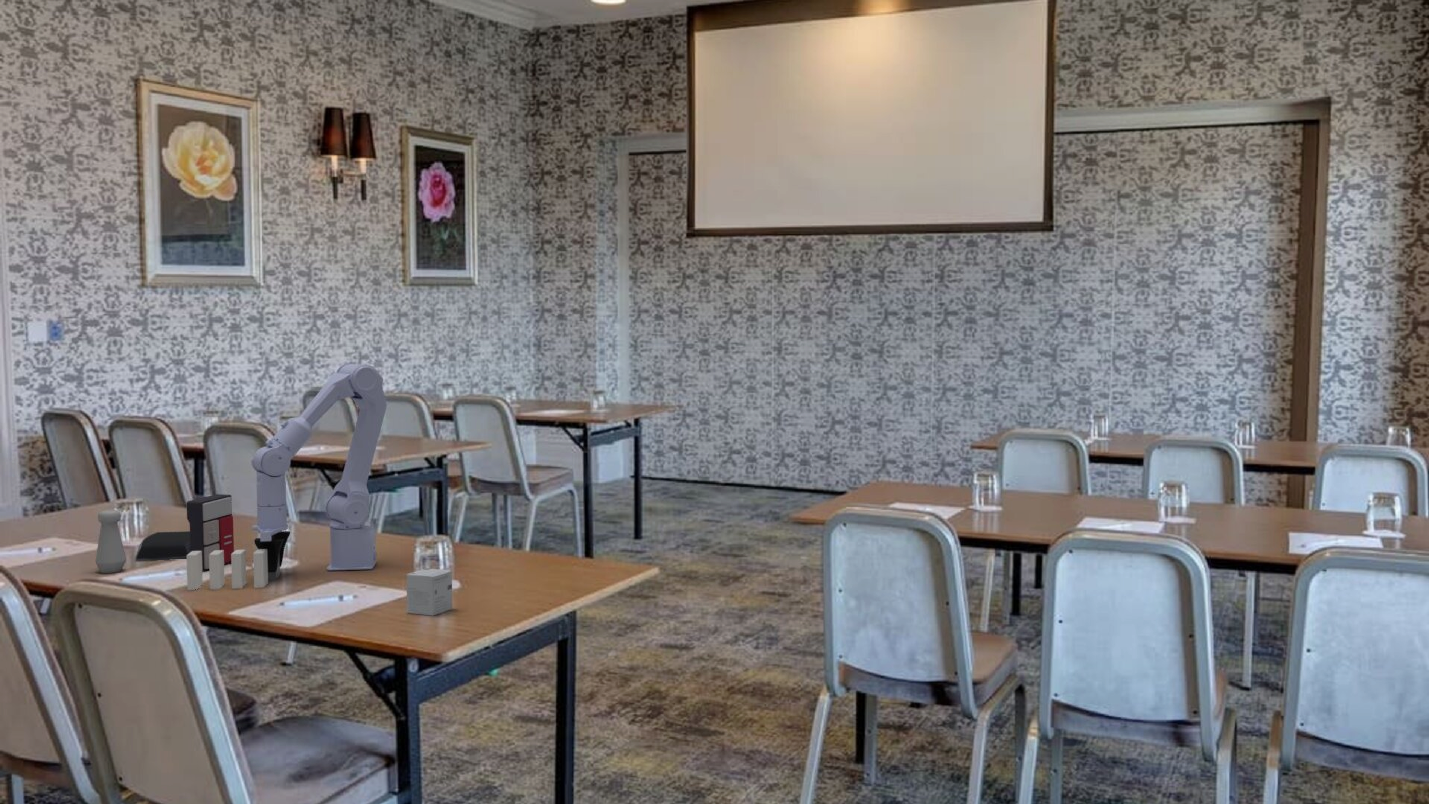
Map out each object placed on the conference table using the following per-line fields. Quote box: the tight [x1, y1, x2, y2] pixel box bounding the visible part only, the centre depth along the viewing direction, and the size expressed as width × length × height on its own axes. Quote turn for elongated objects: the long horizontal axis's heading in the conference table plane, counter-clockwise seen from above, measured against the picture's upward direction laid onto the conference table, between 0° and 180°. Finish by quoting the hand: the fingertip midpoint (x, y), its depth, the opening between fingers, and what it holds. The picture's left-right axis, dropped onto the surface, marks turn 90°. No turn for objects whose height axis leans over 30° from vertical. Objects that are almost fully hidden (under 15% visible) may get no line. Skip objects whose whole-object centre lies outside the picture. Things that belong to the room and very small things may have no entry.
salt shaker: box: [95, 509, 127, 574], centre depth 257 cm, size 6×6×13 cm
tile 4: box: [208, 550, 226, 590], centre depth 243 cm, size 2×4×7 cm, turn 10°
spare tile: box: [268, 553, 281, 581], centre depth 252 cm, size 2×4×7 cm, turn 10°
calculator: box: [186, 493, 235, 572], centre depth 262 cm, size 11×4×15 cm, turn 168°
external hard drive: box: [134, 530, 191, 563], centre depth 278 cm, size 13×19×4 cm
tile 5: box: [186, 551, 204, 591], centre depth 242 cm, size 2×4×7 cm, turn 9°
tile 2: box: [252, 548, 269, 589], centre depth 244 cm, size 2×4×7 cm, turn 9°
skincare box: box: [406, 567, 453, 616], centre depth 224 cm, size 6×6×7 cm
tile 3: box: [230, 549, 247, 590], centre depth 243 cm, size 2×4×7 cm, turn 10°
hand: (273, 569), depth 252 cm, fingers open, 5 cm apart
